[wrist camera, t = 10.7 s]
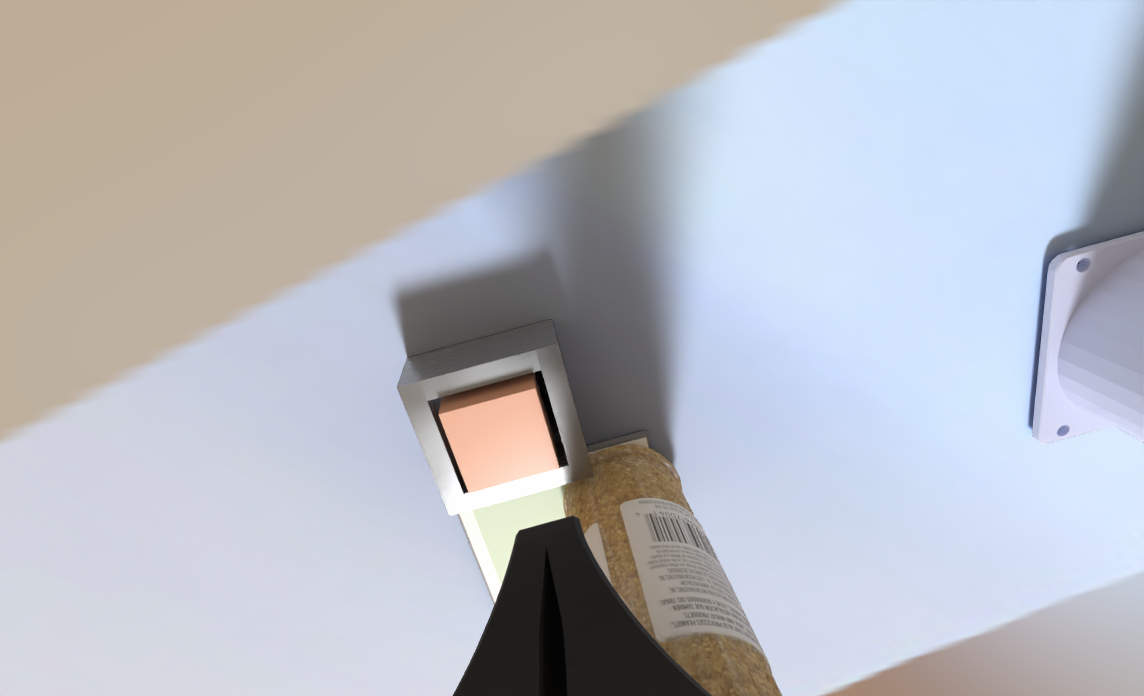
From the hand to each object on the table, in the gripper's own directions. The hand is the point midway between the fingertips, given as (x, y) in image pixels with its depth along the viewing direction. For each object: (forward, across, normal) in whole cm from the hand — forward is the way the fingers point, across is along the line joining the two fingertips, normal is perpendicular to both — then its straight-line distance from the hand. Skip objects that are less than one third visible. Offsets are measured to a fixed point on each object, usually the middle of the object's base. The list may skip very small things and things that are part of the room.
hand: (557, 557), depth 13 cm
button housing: (+8, +1, 0) cm, 9 cm away
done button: (+8, +1, 0) cm, 8 cm away
